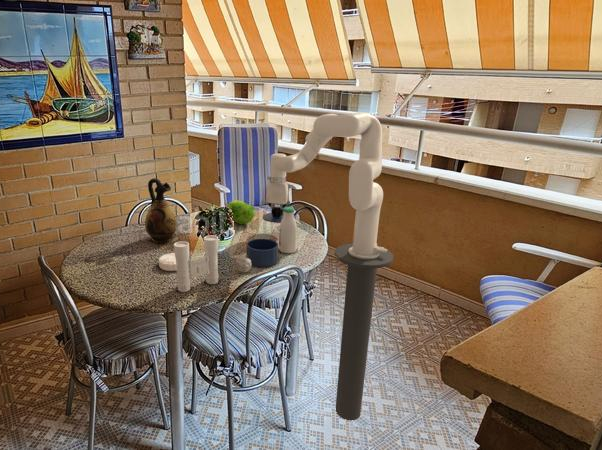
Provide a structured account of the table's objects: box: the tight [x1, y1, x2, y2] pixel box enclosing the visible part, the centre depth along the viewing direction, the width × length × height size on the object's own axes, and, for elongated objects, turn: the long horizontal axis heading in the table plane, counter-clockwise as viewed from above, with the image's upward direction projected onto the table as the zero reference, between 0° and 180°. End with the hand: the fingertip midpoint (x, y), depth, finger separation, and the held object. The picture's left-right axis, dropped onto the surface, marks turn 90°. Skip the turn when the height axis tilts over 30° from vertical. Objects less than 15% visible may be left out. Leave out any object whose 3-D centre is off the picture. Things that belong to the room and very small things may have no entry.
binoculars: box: [173, 234, 220, 293], centre depth 151 cm, size 17×5×18 cm, turn 118°
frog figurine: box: [234, 255, 252, 273], centre depth 163 cm, size 6×7×7 cm
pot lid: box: [262, 206, 284, 224], centre depth 201 cm, size 14×14×6 cm
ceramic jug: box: [144, 177, 178, 244], centre depth 195 cm, size 17×15×30 cm
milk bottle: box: [278, 206, 298, 254], centre depth 180 cm, size 8×8×20 cm
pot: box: [245, 238, 279, 268], centre depth 173 cm, size 13×13×8 cm
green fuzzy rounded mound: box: [226, 199, 256, 225], centre depth 220 cm, size 13×23×12 cm, turn 25°
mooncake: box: [158, 252, 177, 272], centre depth 171 cm, size 12×12×4 cm
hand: (277, 215), depth 201 cm, fingers closed on pot lid, 2 cm apart
